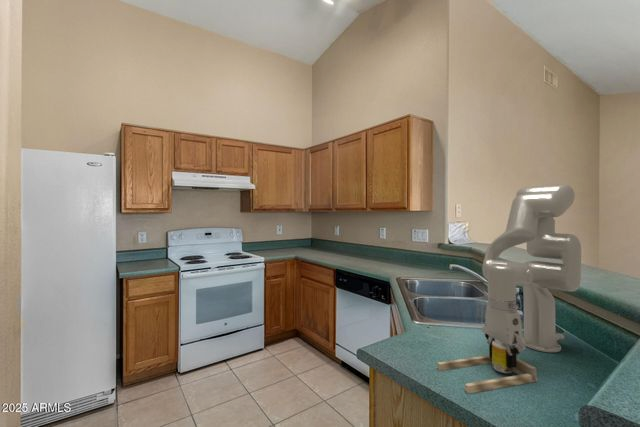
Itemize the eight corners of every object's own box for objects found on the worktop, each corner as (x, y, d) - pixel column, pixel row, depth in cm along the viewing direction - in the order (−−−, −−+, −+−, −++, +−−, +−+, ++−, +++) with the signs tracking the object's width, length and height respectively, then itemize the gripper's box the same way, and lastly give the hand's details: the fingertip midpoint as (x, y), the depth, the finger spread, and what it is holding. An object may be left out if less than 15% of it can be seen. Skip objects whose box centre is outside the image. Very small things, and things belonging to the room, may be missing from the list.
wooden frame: (499, 359, 98) (498, 347, 98) (537, 381, 85) (537, 367, 85) (437, 368, 92) (437, 356, 92) (468, 393, 79) (468, 379, 79)
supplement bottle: (508, 376, 87) (507, 342, 87) (488, 368, 91) (488, 335, 91) (516, 370, 90) (516, 337, 90) (497, 363, 94) (497, 331, 94)
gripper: (537, 311, 83) (538, 374, 83) (489, 295, 100) (490, 348, 100) (516, 314, 81) (517, 378, 81) (471, 297, 98) (471, 351, 98)
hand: (502, 361), depth 90 cm, fingers closed on supplement bottle, 5 cm apart
